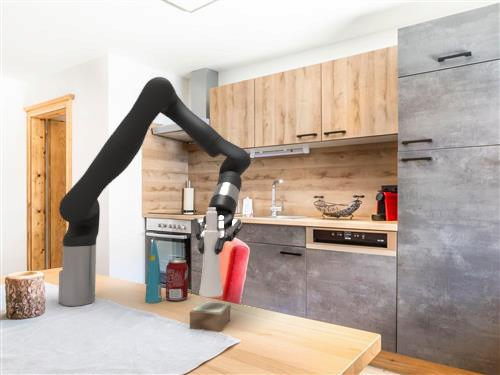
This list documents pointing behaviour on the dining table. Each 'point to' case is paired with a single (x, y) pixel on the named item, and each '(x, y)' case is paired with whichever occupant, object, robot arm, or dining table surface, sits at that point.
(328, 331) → the dining table surface
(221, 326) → the pedestal
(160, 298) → the tube
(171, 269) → the soda can
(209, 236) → the cosmetic bottle
